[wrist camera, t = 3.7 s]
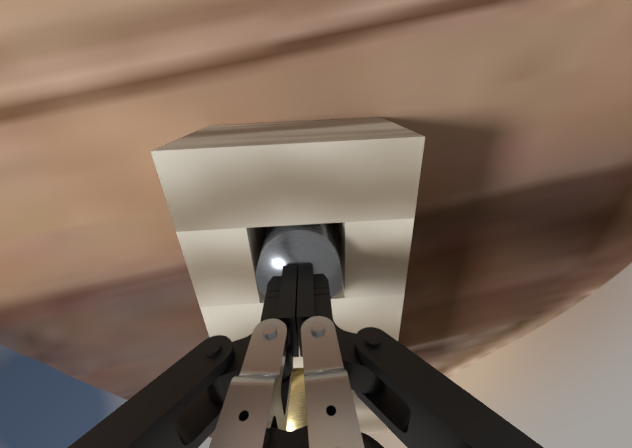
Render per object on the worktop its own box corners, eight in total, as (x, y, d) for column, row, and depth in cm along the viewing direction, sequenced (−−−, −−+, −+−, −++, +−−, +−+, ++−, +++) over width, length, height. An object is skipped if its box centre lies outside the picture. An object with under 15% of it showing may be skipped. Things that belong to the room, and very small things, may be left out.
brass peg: (280, 336, 22) (270, 438, 15) (336, 332, 22) (348, 433, 15) (285, 372, 24) (278, 475, 17) (336, 369, 24) (348, 470, 17)
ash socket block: (208, 125, 19) (150, 151, 12) (380, 116, 19) (425, 136, 12) (257, 356, 30) (242, 442, 23) (367, 350, 30) (386, 432, 23)
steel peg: (267, 191, 19) (249, 243, 13) (330, 188, 19) (342, 238, 13) (274, 245, 21) (261, 312, 15) (331, 242, 21) (342, 307, 15)
